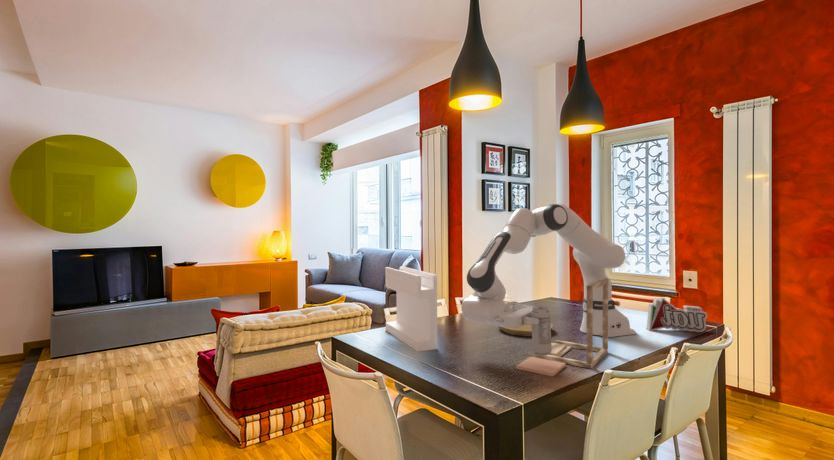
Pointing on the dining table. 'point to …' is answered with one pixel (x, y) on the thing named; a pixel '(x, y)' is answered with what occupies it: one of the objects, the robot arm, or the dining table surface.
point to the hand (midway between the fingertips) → (543, 319)
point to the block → (414, 307)
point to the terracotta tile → (541, 366)
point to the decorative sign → (675, 317)
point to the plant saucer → (520, 330)
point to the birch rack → (588, 332)
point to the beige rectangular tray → (559, 349)
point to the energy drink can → (541, 331)
